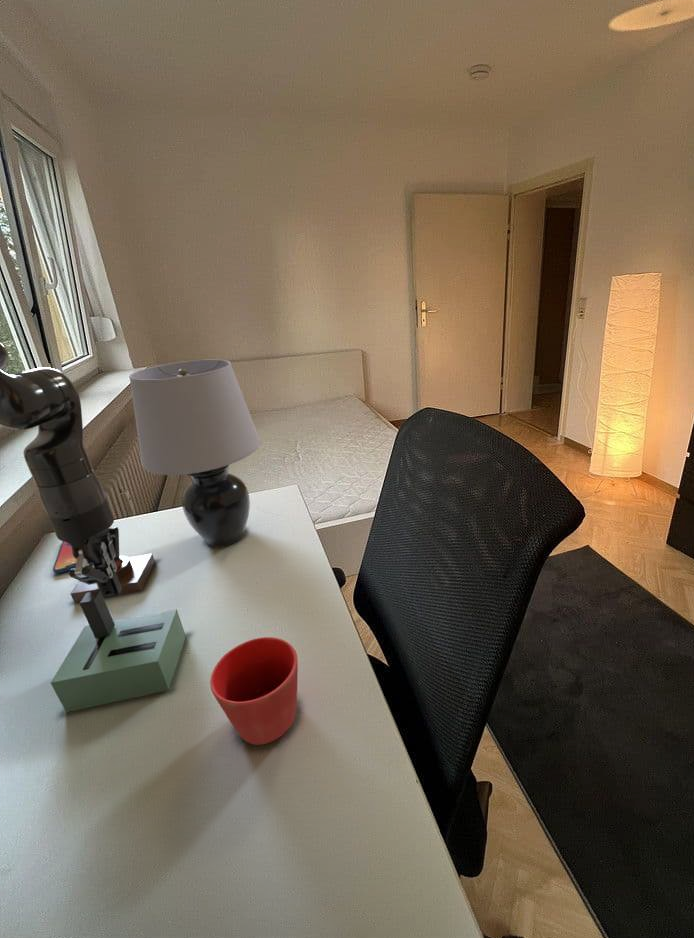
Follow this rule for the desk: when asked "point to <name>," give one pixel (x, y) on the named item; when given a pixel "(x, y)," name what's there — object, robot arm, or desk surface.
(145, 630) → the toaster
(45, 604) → the desk surface
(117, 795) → the desk surface
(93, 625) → the slide button
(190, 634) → the desk surface
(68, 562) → the smartphone
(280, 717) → the flower pot
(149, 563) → the box
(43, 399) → the robot arm
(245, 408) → the lamp
